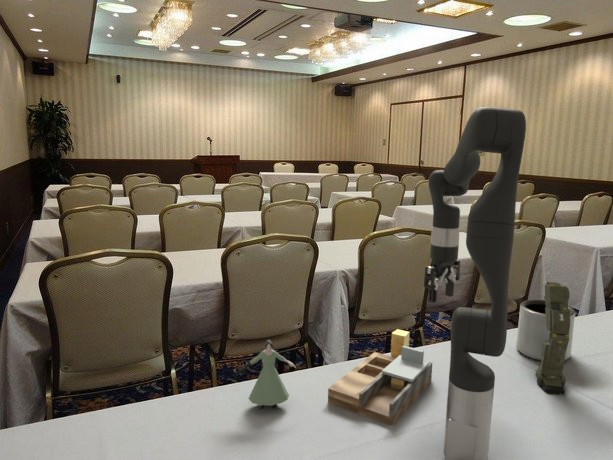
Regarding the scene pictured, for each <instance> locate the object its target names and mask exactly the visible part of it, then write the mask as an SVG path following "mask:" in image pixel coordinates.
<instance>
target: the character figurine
mask: <svg viewBox="0 0 613 460" xmlns="http://www.w3.org/2000/svg"><path fill="white" fill-rule="evenodd" d="M263 346H264V348H265V349H264V350H262V351H260V353H259V354H258V355H257V356H255V357H253V358H252V359H251V360H250V361H249V362H247V364H245V365H244V366H242V367H240V368H239V369H238V370H237V371H236V372H235V374H234V378H237V377H238V376H239V375H240V376H243V375H244V374H245V372H246V371H247V368H249V367H250V366H253V365H254V364H256V363H258V362H259V361H262V368H261V370H260V373H259V376H258V377H257V380H256V381H255V384H254V386H253V388H252V390H251V392H250V394H249V397H248V400H249V401H250V402H251V403H252V404H255V405H259V406H260V409H261V411H265V410H266V406H272V408H273V409H274V410H277V409H278V405H279V404H282V403H284V402H286V401H288V400H289V397H290V393H289V392H288V390H287V388H286V386H285V384H284V382H283V381H282V379H281V376H280V374H279V372H278V370H277V368H276V367H275V364H276V359H278V360H279V361H281V362H285V363H287V364H288V365H289V367H291V368H293V367H294V368H295V369H296V368H297V367H296V365H295V364H294V363H293V362H291V361H290V360H288V359H286V358H285V357H284V356H283V355H281V354H279V353H278V352H277V351H276V350H274V344H273V341H272V340H270V339H267V340H266V341H265V342H264V345H263Z"/></svg>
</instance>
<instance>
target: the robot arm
mask: <svg viewBox="0 0 613 460" xmlns="http://www.w3.org/2000/svg"><path fill="white" fill-rule="evenodd" d="M526 132H527V121H526V115H525V113H524V112H523V111H522V110H520V109H512V108H504V107H502V108H501V107H493V106H491V107H490V106H482V107H477V108H476V109H475V110H473V112H472V113H471V114H470V117H469V119H468V120H467V122H466V124H465V126H464V129H463V131H462V133H461V136H460V138H459V141H458V143H457V146H456V149H455V152H454V153H453V155H452V157H450V159H449V160H448V161H447V163H446V164H445V166H444V169H440V170H439V169H437V170H433V171H432V172H431V173H430V175H429V177H428V181H427V182H428V184H427V185H428V189H429V193H430V194H429V195H430V197H431V201H432V209H433V210H432V212H433V215H432V229H431V233H430V245H429V246H430V248H429V249H430V250H429V257H430V259H431V260H432V261H433V262H432V266H429V265H426V266H425V270H424V281H423V287H424V288H425V289H428V302H429V303H432V304H434V303H437V302H438V287H439V286H440V284H442V283H443V281H444V280H445V293H444V295H445V296H448V297H450V298H451V297H454V293H455V292H454V290H455V285H456V283H457V281H460V275H461V274H460V273H461V271H460V270H461V261H460V260H458V259H459V248H460V247H459V246H460V218H461V209H460V207H459V206H457V205H454V204H451V203H446V202H445V201H444V198H443V197H461V196H464V195H466V194H467V192H469V191H468V190H469V187H470V181H471V179H472V178H473V177H474V176H476V174H477V172H478V171H479V169H480V166H481V157H480V154H479V152H483V153H490V154H493V153H494V154H500V161H499V165H498V168H497V170H496V173H495V175H494V176H493V178H492V180H491V182H490V184H488V186H487V187H486V188H485V189H484V191H483V193H481V195H480V196H479V197H478V198H477V200H476V201H475V203H474V204H473V205H472V207H471V209H470V211H469V214H468V215H467V216H468V217H467V226H466V238H465V244H466V245H465V246H466V249H467V251H468V254H469V256H470V258H471V260H472V262H473V264H474V266H475V267H476V269H477V271H478V272H479V274H480V276H481V278H482V280H483V282H484V284H485V286H486V287H485V288H486V289H487V291H488V294H489V298H490V302H491V310H488V309H481V308H472V307H467V306H466V307H465V306H459V307H457V308H456V309H454V311H453V313H452V317H451V322H450V356H449V357H450V359H449V360H450V361H449V372H448V385H447V386H448V387H447V398H446V399H447V400H446V414H445V431H444V442H443V452H444V456H445V457H444V460H488V459H489V449H490V439H491V438H490V437H491V429H492V428H491V426H492V425H491V424H492V416H493V415H492V414H493V404H494V402H493V401H494V394H495V380H496V375H495V372H494V370H493V369H492V368H491V366H489V365H487V364H485V363H483V362H482V361H480V360H479V359H476V358H474V356H473V355H474V354H476V355H483V356H487V357H497V358H498V357H501V356H502V355H503V354H504V352H505V348H506V343H507V333H508V310H509V309H508V307H509V305H508V304H509V302H508V301H509V300H508V299H509V280H510V270H511V263H512V262H511V261H512V254H513V245H514V235H515V224H516V205H517V194H518V193H517V192H518V183H519V176H520V169H521V162H522V157H523V152H524V146H525V139H526ZM471 354H473V355H471Z"/></svg>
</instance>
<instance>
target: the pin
mask: <svg viewBox="0 0 613 460" xmlns="http://www.w3.org/2000/svg"><path fill="white" fill-rule="evenodd" d="M410 333H411V332H410V331H407V330H403V329H398V328H397V329H396V330H394V331H393V332H391V343H390V344H391V345H390V346H391V347H390V349H391V350H390V356H391V357H395V358H397V357H398V356H399V355H402V347H403V346H407V347H410Z"/></svg>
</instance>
